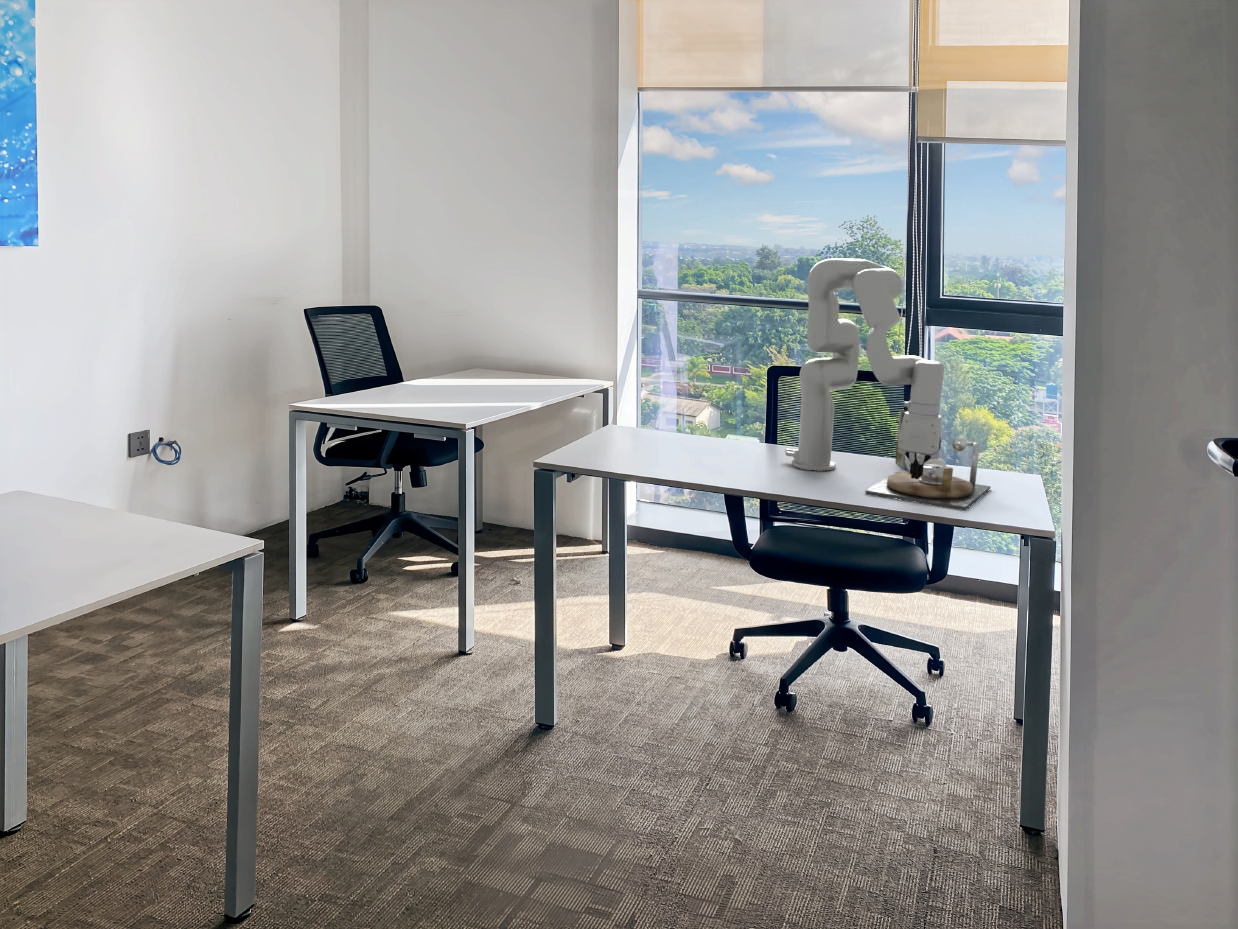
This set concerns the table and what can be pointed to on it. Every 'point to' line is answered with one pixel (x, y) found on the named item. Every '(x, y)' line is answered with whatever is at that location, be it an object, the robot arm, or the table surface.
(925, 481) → the cover
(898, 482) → the turntable
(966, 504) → the turntable base
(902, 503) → the table surface
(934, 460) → the white rounded lump
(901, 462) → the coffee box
